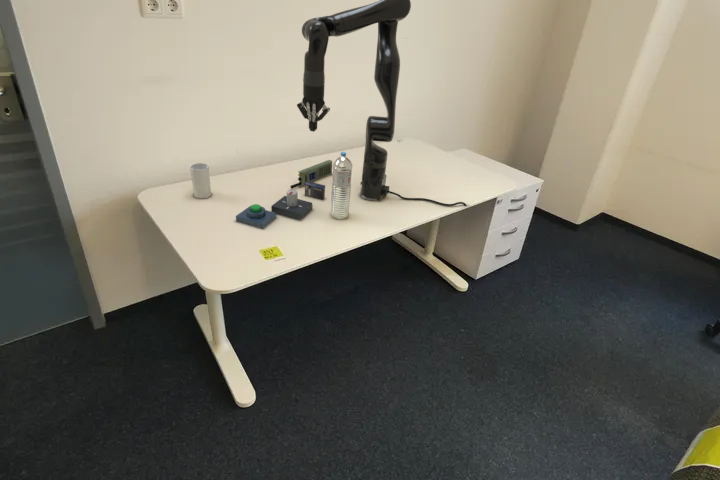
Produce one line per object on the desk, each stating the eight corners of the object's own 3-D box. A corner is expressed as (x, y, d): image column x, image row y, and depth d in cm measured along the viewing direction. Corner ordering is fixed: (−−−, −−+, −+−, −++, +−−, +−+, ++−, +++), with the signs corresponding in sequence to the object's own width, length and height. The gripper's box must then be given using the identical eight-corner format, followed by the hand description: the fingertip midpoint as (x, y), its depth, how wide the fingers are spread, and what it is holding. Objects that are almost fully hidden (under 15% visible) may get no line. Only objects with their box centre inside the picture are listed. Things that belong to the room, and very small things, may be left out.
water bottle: (341, 221, 158) (346, 157, 145) (326, 215, 161) (329, 152, 148) (351, 214, 163) (356, 152, 150) (337, 209, 166) (340, 147, 153)
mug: (215, 195, 167) (212, 167, 161) (199, 200, 163) (195, 171, 157) (202, 186, 173) (198, 159, 167) (186, 191, 169) (182, 162, 162)
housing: (276, 218, 156) (276, 208, 154) (262, 229, 149) (262, 219, 147) (250, 210, 159) (249, 201, 157) (236, 221, 152) (235, 211, 150)
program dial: (289, 200, 162) (289, 188, 160) (299, 203, 161) (299, 190, 159) (285, 205, 159) (284, 192, 156) (294, 207, 158) (294, 194, 155)
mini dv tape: (304, 195, 174) (305, 182, 171) (306, 194, 175) (306, 180, 172) (322, 200, 172) (323, 186, 168) (324, 198, 173) (325, 185, 170)
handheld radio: (333, 174, 194) (294, 191, 176) (327, 173, 196) (288, 189, 178) (333, 160, 191) (293, 176, 173) (327, 159, 192) (288, 174, 175)
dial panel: (312, 209, 164) (312, 202, 163) (300, 220, 156) (300, 213, 155) (284, 202, 167) (284, 195, 166) (271, 212, 159) (271, 205, 158)
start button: (263, 209, 153) (262, 205, 152) (257, 214, 150) (257, 209, 150) (254, 207, 154) (254, 203, 153) (248, 211, 151) (248, 207, 150)
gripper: (335, 84, 153) (332, 131, 162) (302, 78, 156) (301, 125, 165) (326, 87, 147) (324, 136, 156) (292, 81, 150) (292, 130, 159)
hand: (312, 130), depth 160 cm, fingers closed
